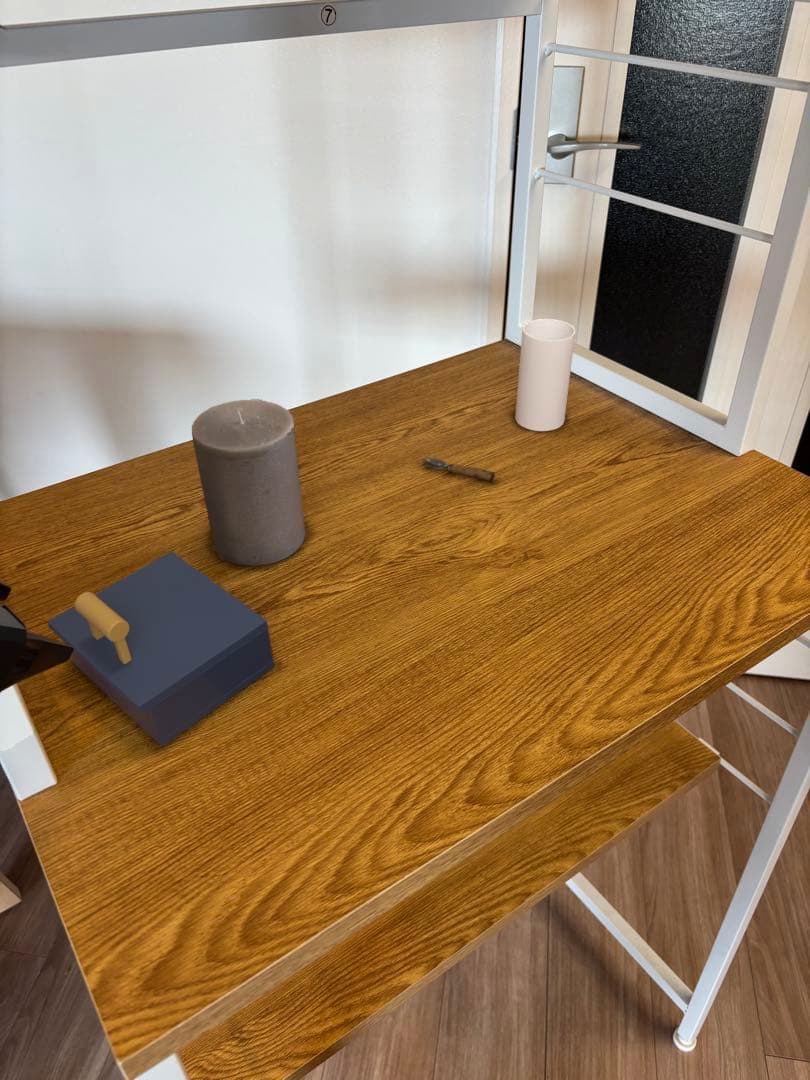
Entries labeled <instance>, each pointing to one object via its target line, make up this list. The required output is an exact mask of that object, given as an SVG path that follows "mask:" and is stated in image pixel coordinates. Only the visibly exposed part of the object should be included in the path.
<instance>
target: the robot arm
mask: <svg viewBox="0 0 810 1080" xmlns="http://www.w3.org/2000/svg"><path fill="white" fill-rule="evenodd" d="M11 592H12V587H11V586H10V585H8V584H6V583H4V582H2V581H0V602H3V601H6V600H7V599H8V598H9V596H10V594H11ZM73 651H74V648H73V647H72V646H71V645H68V644H66V643H65V642H64V641H60V640H57V639H54V638H51V637H48V636H46V635H42V634H39V633H36V632H32V631H29V630H28V629H27V625H26V624H25V623H24V622H23V621H22V619H20V617H19V616H18V615H17V614H16V613H14V611H12V610H11V609H10V608H9V606H8V605H6V604H5V603H3V604H2V606H0V694H1V693H3V692H4V691H5V690H8V689H9V688H11V687H12V686H15V685H17V684H19V683H21V682H23V681H26V680H27V679H30V678H33V677H34V676H37V675H39V674H42V673H44V672H46V671H48V670H51V669H54V668H55V667H58V666H61V665H63V664H65V663H67V662H69V661H70V660H71V659H70V658H71V655H72V653H73Z"/></svg>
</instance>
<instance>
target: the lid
mask: <svg viewBox="0 0 810 1080" xmlns="http://www.w3.org/2000/svg"><path fill="white" fill-rule="evenodd" d="M46 623H47V626H48V628H49V630H50V631H52V632H53V633H54V634H55V635H56V636H57V637H58V638H59V639H60V640H61V641H62V642H63V643H66V644H68V645H71V646H72V647H73V648H74V652H75V653H76V654H78V655H79V656H80V657H81V658H82V659H83V660H84V661H85V662H86V663H87V664H88V665H89V666H90V667H91V668H93V669H94V670H95V671H96V672H97V673H98V674H99V675H100V676H101V677H102V678H103V679H104V680H105V681H106V682H108V683H109V684H110V685H111V686H112V687H113V688H114V689H115V690H116V691H117V692H118V693H119V694H120V695H121V696H122V697H124V698H125V699H126V700H127V701H128V702H129V703H130V704H131V705H132V706H133V707H134V708H135V709H136V710H137V711H139V712H140V713H142V712H144V711H145V710H147V709H148V708H150V707H151V706H153V705H154V704H156V703H157V702H159V701H160V700H161V699H163V698H164V697H166V696H167V695H169V694H170V693H172V692H173V691H175V690H176V689H178V688H179V687H181V686H182V685H183V684H185V683H186V682H188V681H189V680H191V679H192V678H194V677H195V676H197V675H198V674H200V673H201V672H203V671H204V670H206V669H207V668H208V667H210V666H211V665H213V664H214V663H216V662H217V661H219V660H220V659H222V658H223V657H225V656H226V655H228V654H229V653H231V652H232V651H233V650H235V649H236V648H238V647H239V646H241V645H242V644H244V643H245V642H247V641H248V640H250V639H251V638H253V637H254V636H255V635H257V634H258V633H260V632H261V631H263V630H264V629H266V628H268V626H269V625H268V620H267V619H266V618H264V617H263V616H261V615H260V614H258V612H256V611H255V610H253V609H252V608H251V607H249V606H247V605H246V604H245V603H244V602H243V601H241V600H240V599H238V598H237V597H235V596H234V595H233V594H231V593H230V592H229V591H227V590H225V588H223V587H221V586H220V585H219V584H217V583H216V582H214V581H213V580H212V579H211V578H209V577H208V576H206V575H205V574H203V573H202V572H201V571H199V570H198V569H197V568H195V567H194V566H193V565H191V564H190V563H189V562H187V561H185V560H184V559H183V558H181V557H180V556H178V555H177V554H176V553H174V552H173V551H169V552H167V553H166V554H163V555H162V556H161V557H159V558H157V559H155V560H153V561H152V562H150V563H148V564H146V565H144V566H143V567H141V568H139V569H138V570H135V571H134V572H132V573H130V574H128V575H127V576H125V577H123V578H121V579H119V580H117V581H116V582H114V583H113V584H111V585H109V586H108V587H106V588H104V589H102V590H100V591H98V592H96V593H95V594H94V593H93V592H90V591H86V592H83V593H81V594H80V595H78V596H77V598H76V599H75V601H74V605H73V606H71V607H69V608H68V609H67V610H65V611H63V612H61V613H59V614H58V615H55V616H54V617H53V618H51V619H49V620H47V621H46Z"/></svg>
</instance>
